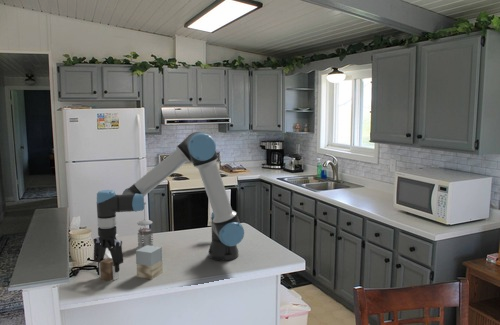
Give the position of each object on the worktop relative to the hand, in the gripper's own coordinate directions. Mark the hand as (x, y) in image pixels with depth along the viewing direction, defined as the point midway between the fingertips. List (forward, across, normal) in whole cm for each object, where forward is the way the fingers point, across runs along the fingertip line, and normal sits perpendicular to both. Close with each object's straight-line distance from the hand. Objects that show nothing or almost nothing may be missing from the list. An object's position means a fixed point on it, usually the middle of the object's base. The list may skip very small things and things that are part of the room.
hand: (109, 277), depth 177 cm
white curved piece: (0, +16, -20) cm, 26 cm away
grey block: (-6, -14, -10) cm, 18 cm away
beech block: (0, -14, -10) cm, 17 cm away
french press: (0, +10, -39) cm, 40 cm away
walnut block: (0, 0, 0) cm, 0 cm away
